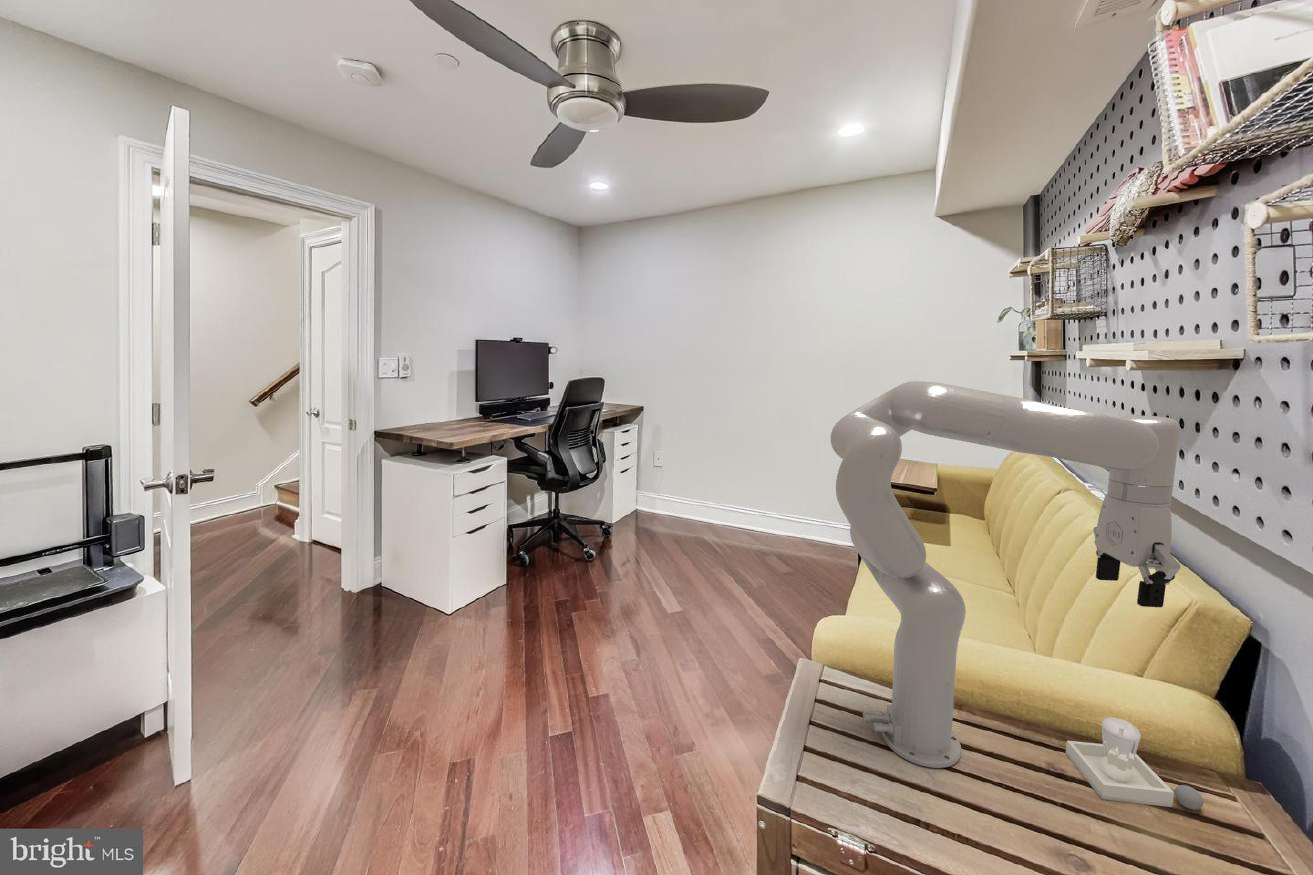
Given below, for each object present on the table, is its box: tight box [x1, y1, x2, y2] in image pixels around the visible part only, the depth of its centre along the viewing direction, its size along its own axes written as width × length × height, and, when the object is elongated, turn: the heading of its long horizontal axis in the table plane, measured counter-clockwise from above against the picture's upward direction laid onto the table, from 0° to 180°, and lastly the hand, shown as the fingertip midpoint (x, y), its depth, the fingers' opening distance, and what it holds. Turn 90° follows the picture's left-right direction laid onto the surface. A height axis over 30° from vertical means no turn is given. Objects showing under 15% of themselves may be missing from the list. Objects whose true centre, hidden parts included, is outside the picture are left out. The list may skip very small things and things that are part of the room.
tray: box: [1065, 740, 1175, 808], centre depth 81 cm, size 9×9×2 cm
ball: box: [1173, 784, 1204, 810], centre depth 76 cm, size 3×3×3 cm
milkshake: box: [1101, 716, 1141, 782], centre depth 80 cm, size 5×5×10 cm
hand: (1127, 592), depth 84 cm, fingers open, 9 cm apart
